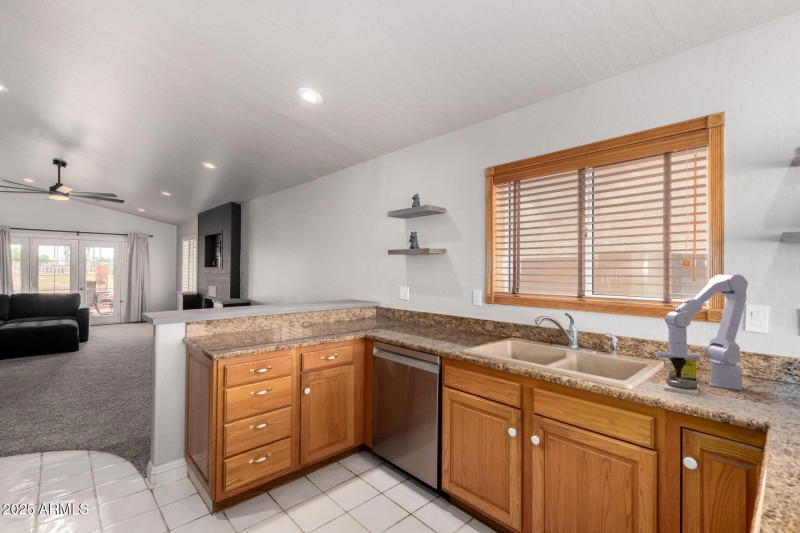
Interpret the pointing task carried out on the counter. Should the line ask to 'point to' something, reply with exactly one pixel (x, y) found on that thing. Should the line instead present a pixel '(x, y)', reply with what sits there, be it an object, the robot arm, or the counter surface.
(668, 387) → the base board
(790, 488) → the counter surface
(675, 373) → the crank wheel
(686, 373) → the supplement box
